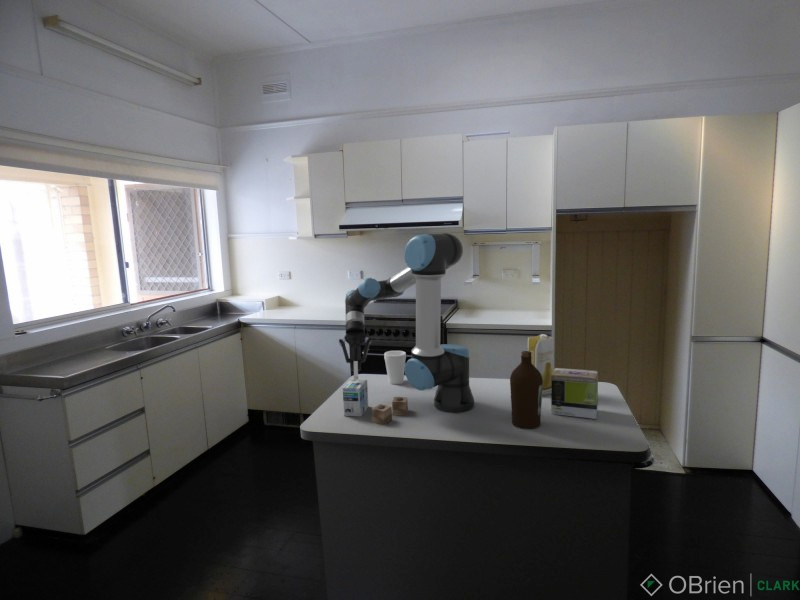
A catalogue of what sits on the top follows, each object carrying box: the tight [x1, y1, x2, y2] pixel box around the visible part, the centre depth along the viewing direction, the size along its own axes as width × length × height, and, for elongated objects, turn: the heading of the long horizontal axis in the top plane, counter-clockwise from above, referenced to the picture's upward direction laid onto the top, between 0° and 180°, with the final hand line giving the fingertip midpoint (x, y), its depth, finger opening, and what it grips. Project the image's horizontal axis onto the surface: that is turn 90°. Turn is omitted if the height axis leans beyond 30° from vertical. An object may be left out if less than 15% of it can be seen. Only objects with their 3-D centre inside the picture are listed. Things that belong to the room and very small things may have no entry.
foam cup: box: [383, 350, 407, 385], centre depth 211 cm, size 10×9×13 cm
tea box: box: [550, 367, 599, 420], centre depth 171 cm, size 15×10×15 cm, turn 65°
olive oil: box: [509, 350, 543, 430], centre depth 161 cm, size 11×11×25 cm
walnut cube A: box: [391, 396, 409, 416], centre depth 177 cm, size 5×5×5 cm
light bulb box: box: [342, 378, 369, 418], centre depth 179 cm, size 11×7×11 cm, turn 168°
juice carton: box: [527, 333, 555, 397], centre depth 191 cm, size 9×8×24 cm
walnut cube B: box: [371, 403, 393, 426], centre depth 170 cm, size 5×5×5 cm
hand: (356, 378), depth 179 cm, fingers closed
